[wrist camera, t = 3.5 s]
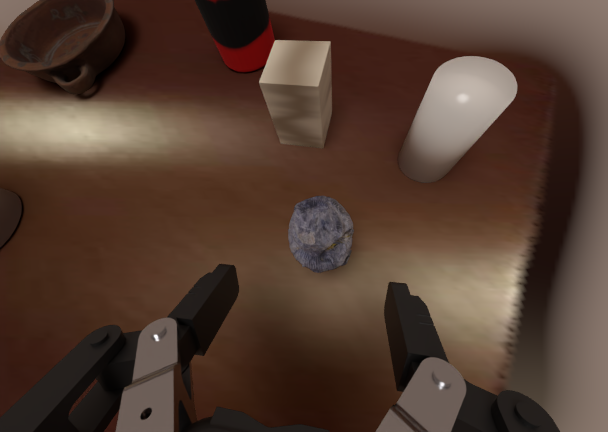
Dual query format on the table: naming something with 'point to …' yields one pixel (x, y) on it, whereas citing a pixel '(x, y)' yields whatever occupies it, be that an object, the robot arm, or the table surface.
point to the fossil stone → (320, 234)
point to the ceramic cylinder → (454, 115)
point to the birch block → (299, 91)
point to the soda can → (239, 31)
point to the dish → (64, 41)
